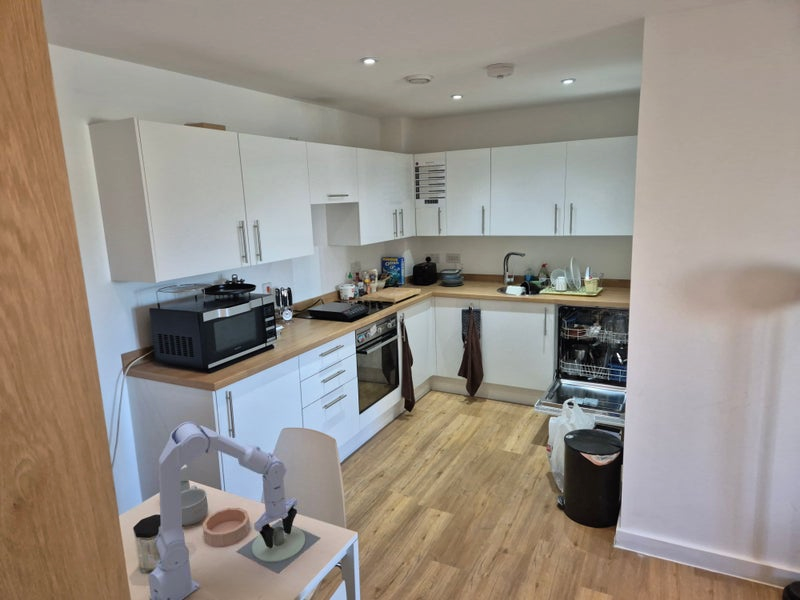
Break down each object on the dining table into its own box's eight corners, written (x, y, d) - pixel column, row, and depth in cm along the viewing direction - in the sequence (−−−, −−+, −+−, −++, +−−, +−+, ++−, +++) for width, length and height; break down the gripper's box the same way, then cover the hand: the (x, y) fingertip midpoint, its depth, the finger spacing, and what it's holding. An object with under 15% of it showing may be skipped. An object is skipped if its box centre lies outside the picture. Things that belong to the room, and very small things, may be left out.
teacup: (201, 530, 158) (198, 506, 156) (166, 530, 158) (163, 507, 157) (217, 503, 172) (215, 481, 170) (185, 504, 172) (182, 482, 170)
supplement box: (169, 509, 169) (164, 474, 167) (162, 500, 175) (157, 466, 172) (192, 500, 174) (187, 466, 172) (184, 491, 180) (180, 458, 177)
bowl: (223, 553, 147) (221, 539, 146) (195, 538, 154) (193, 525, 153) (258, 528, 157) (257, 515, 157) (230, 516, 164) (229, 503, 164)
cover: (278, 569, 139) (276, 554, 138) (241, 550, 147) (239, 536, 146) (315, 538, 151) (314, 523, 150) (279, 522, 159) (278, 508, 158)
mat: (278, 575, 138) (277, 573, 137) (236, 553, 147) (236, 551, 147) (320, 539, 151) (320, 537, 151) (280, 521, 161) (280, 519, 161)
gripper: (264, 514, 138) (269, 559, 141) (302, 488, 150) (306, 530, 152) (247, 506, 142) (251, 550, 144) (285, 482, 154) (289, 522, 156)
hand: (278, 539), depth 149 cm, fingers open, 6 cm apart
